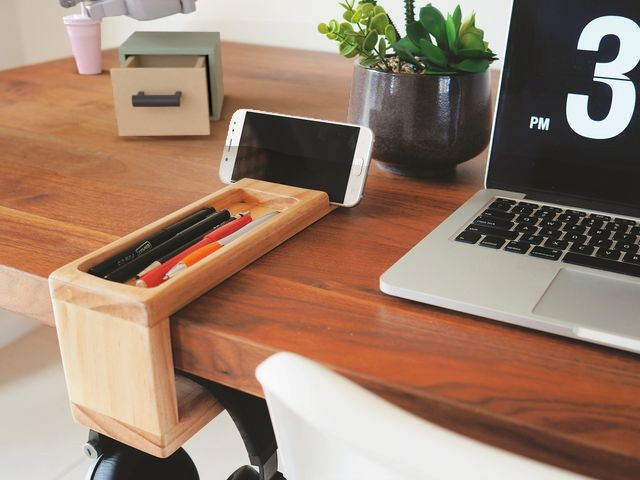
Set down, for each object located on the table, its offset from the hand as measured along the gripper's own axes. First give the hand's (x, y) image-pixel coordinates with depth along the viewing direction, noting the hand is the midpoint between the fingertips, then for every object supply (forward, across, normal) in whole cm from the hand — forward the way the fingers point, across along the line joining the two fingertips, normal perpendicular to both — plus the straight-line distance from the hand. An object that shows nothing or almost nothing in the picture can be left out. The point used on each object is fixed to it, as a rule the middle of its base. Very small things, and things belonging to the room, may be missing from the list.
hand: (74, 7), depth 100 cm
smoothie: (-7, -23, +18) cm, 30 cm away
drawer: (0, +19, +13) cm, 23 cm away
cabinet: (-7, +9, +16) cm, 19 cm away
